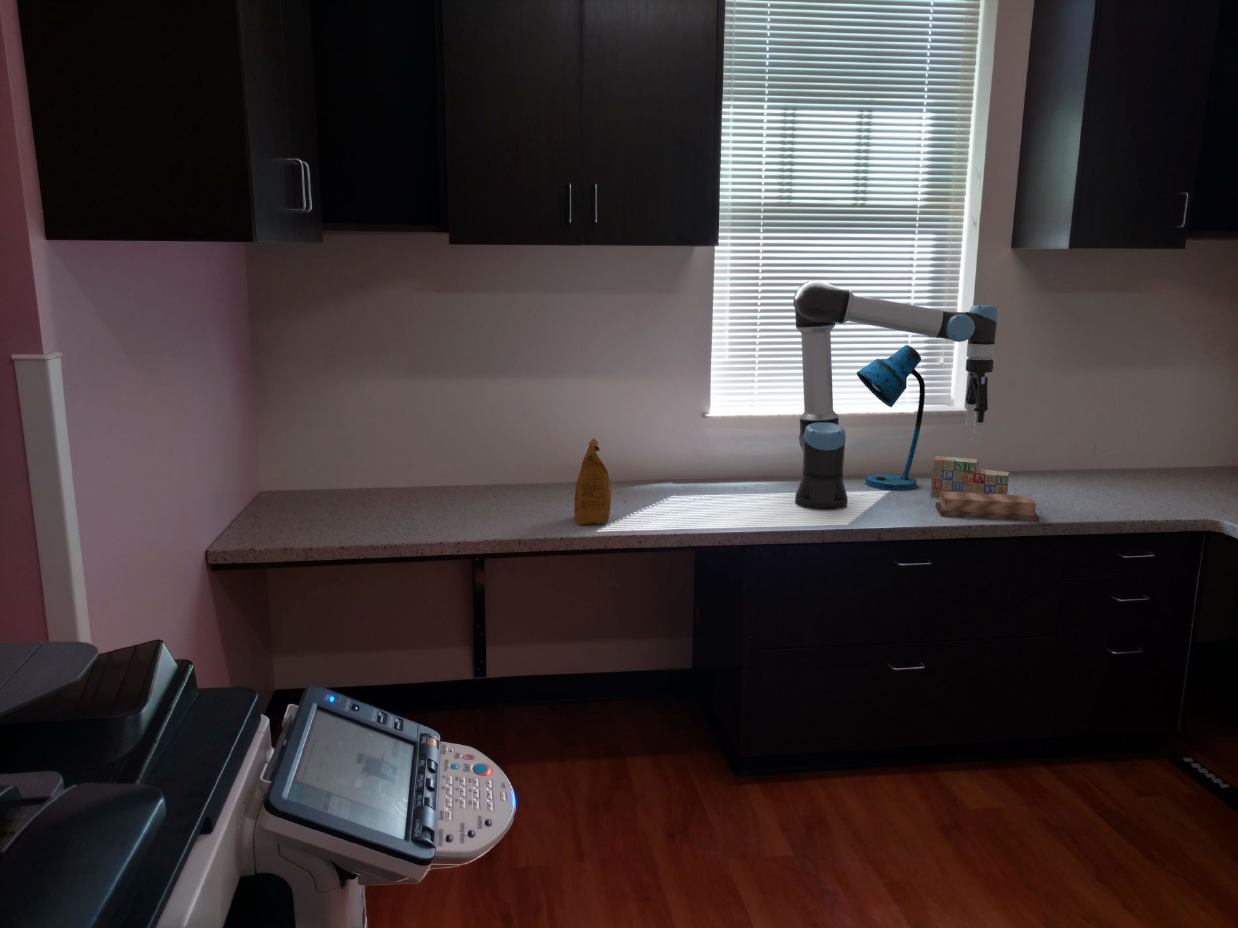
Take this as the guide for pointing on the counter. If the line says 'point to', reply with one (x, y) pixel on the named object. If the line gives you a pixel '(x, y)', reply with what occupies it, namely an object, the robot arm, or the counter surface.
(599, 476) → the coffee package
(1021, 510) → the base brick
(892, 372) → the desk lamp
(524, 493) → the counter surface
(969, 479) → the stack of blocks
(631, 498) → the counter surface
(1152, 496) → the counter surface
